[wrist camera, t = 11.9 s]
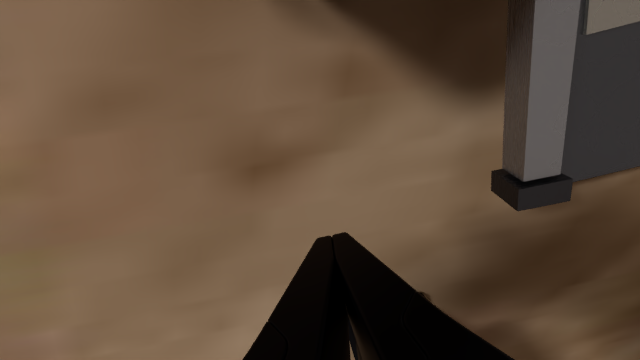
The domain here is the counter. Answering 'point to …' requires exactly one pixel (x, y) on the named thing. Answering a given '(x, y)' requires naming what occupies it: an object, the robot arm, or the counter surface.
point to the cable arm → (536, 102)
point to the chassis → (604, 91)
